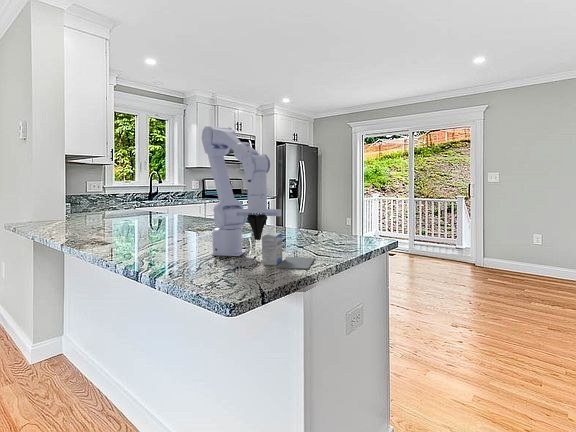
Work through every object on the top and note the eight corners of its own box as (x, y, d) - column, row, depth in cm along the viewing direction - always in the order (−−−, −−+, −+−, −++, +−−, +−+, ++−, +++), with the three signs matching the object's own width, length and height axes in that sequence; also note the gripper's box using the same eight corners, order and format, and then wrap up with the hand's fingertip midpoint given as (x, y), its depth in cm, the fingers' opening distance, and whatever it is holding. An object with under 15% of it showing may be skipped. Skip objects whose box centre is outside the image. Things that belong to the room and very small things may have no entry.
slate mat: (276, 268, 105) (276, 266, 105) (287, 257, 118) (287, 256, 118) (308, 269, 103) (308, 268, 103) (314, 258, 116) (314, 257, 116)
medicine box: (276, 265, 108) (276, 236, 107) (262, 265, 109) (261, 236, 108) (282, 260, 115) (282, 232, 115) (268, 259, 116) (268, 232, 115)
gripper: (229, 195, 108) (230, 241, 110) (277, 195, 105) (277, 242, 107) (237, 194, 115) (238, 237, 117) (282, 194, 112) (283, 238, 114)
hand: (257, 239), depth 112 cm, fingers closed
